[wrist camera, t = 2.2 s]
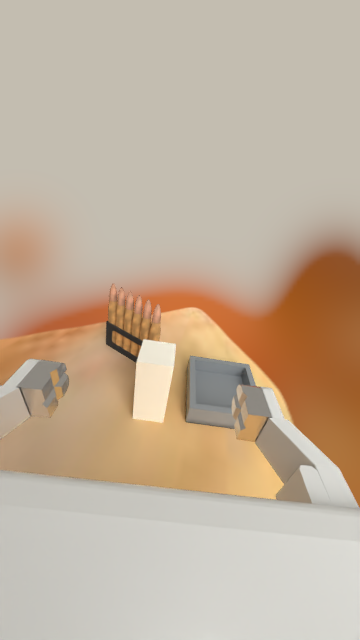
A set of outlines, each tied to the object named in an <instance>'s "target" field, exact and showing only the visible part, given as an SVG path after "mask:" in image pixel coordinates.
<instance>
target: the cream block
mask: <svg viewBox="0 0 360 640" xmlns="http://www.w3.org/2000/svg"><path fill="white" fill-rule="evenodd" d="M175 349H176V344H172V343H165V342H159V341H152V340H146V339H144V340H143V343H142V346H141V349H140V352H139V355H138V359H137V363H136V377H135V391H134V405H133V419H140V420H147V421H154V422H162V423H163V420H164V415H165V410H166V405H167V400H168V394H169V389H170V384H171V379H172V374H173V369H174V360H175Z"/></svg>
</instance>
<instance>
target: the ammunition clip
mask: <svg viewBox="0 0 360 640" xmlns="http://www.w3.org/2000/svg"><path fill="white" fill-rule="evenodd" d="M160 319H161V310H160V306H159V304H157V306H156V308H155V310H154V313H153V318H152V324H151V303H150V300H147V302H146V304H145V307H144V312H143V318H142V300H141V297H140V295H139V296H138V297H137V300H136V303H135V308H134V300H133V295H132V292H129V294H128V296H127V300H126V308H125V294H124V290H123V288H122V287H121V288H120V290H119V294H118V303H117V291H116V287H115V285H114V284H112V286H111V289H110V299H109V307H108V321H107V322H106V344H107V345H108V346H110V347H112V348H113V349H115V350H116V351H118V352H120V353H121V354H123V355H125V356H126V357H128V358H129V359H131V360H133V361H134V362H136V363H137V359H138V355H139V352H140V349H141V346H142V343H143V340H144V339H146V340H152V341H159V338H160Z"/></svg>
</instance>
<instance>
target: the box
mask: <svg viewBox="0 0 360 640" xmlns="http://www.w3.org/2000/svg"><path fill="white" fill-rule="evenodd" d="M239 384H240V385H249V386H256V385H255V382H254V379H253V376H252V373H251V370H250V366H249V365H248V364H242V363H235V362H228V361H222V360H215V359H209V358H202V357H195V356H190V358H189V362H188V367H187V390H186V422H188V423H196V424H203V425H210V426H218V427H225V428H232V429H235V427H234V424H235V422H236V420H235V419H234V417H233V416H232V407H231V406H232V400H233V397H234V396H235V395H236V394H237V391H236V389H237V387H238V385H239Z"/></svg>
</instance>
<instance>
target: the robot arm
mask: <svg viewBox="0 0 360 640" xmlns="http://www.w3.org/2000/svg"><path fill="white" fill-rule="evenodd" d="M65 371H66V365H65V364H64V363H59V362H52V361H45V360H37V359H29V360H27V361H26V362H25V363H24V364H23V365H22V366H21V367H20V368H19V369H18V370H17V371H16V372H15V373H14V374H13V375H12V376H11V377H10V378H9V380H8V381H7V382H6V383H5V384H4V385H3V386H0V439H2V438H3V437H4V436H6V435H7V434H8V433H10V432H11V431H12V430H14V429H15V428H16V427H18V426H19V425H20V424H22V423H23V422H24V421H26V420H27V419H28V418H30V416H37V417H48V418H50V417H51V416H52V414H53V412H54V411H55V409H56V408H57V406H58V399H60V398H61V397H63V396H64V394H65V393H66V391H67V388H68V385H69V378H68V375H66V374H65V373H64V372H65ZM236 391H237V394H236V395H235V396H234V397H233V400H232V406H231V407H232V416H233V417H234V419H235V420H236V422H235V424H234V427H235V433H236V438H237V439H238V440H245V441H252V442H255V443H256V445H257V446H258V448H259V449H260V451H261V452H262V453H263V455H264V456H265V458H266V459H267V460H268V462H269V463H270V465H271V466H272V468H273V469H274V470H275V472H276V473H277V475H278V476H279V477H280V479H281V480H282V482H283V483H284V486H283V487H282V488H281V489H280V490H279V492H278V493H277V494H276V499H277V500H274V499H265V498H256V497H247V496H237V495H228V494H219V493H210V492H201V491H191V490H182V489H173V488H164V487H155V486H146V485H136V484H127V483H118V482H109V481H100V480H90V479H81V478H72V477H63V476H54V475H44V474H35V473H26V472H17V471H7V470H0V640H360V508H359V506H358V504H357V502H356V501H355V498H354V496H353V495H352V493H351V491H350V489H349V487H348V485H347V483H346V481H345V479H344V477H343V475H342V473H341V471H340V470H339V468H338V467H337V466H336V465H335V464H334V463H333V462H331V460H330V459H329V458H327V457H326V456H325V455H324V454H323V453H322V452H321V451H320V450H319V449H318V448H317V447H316V446H315V445H314V444H313V443H312V442H311V441H310V440H309V439H308V438H307V437H305V436H304V435H303V434H302V433H301V432H300V431H299V430H298V429H297V428H296V427H295V426H294V425H293V424H292V423H291V422H290V421H289V420H286V419H284V416H283V414H282V411H281V409H280V406H279V404H278V402H277V399H276V397H275V394H274V392H273V390H272V389H271V388H266V387H257V386H249V385H240V384H239V385H238V387H237V389H236Z"/></svg>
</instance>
